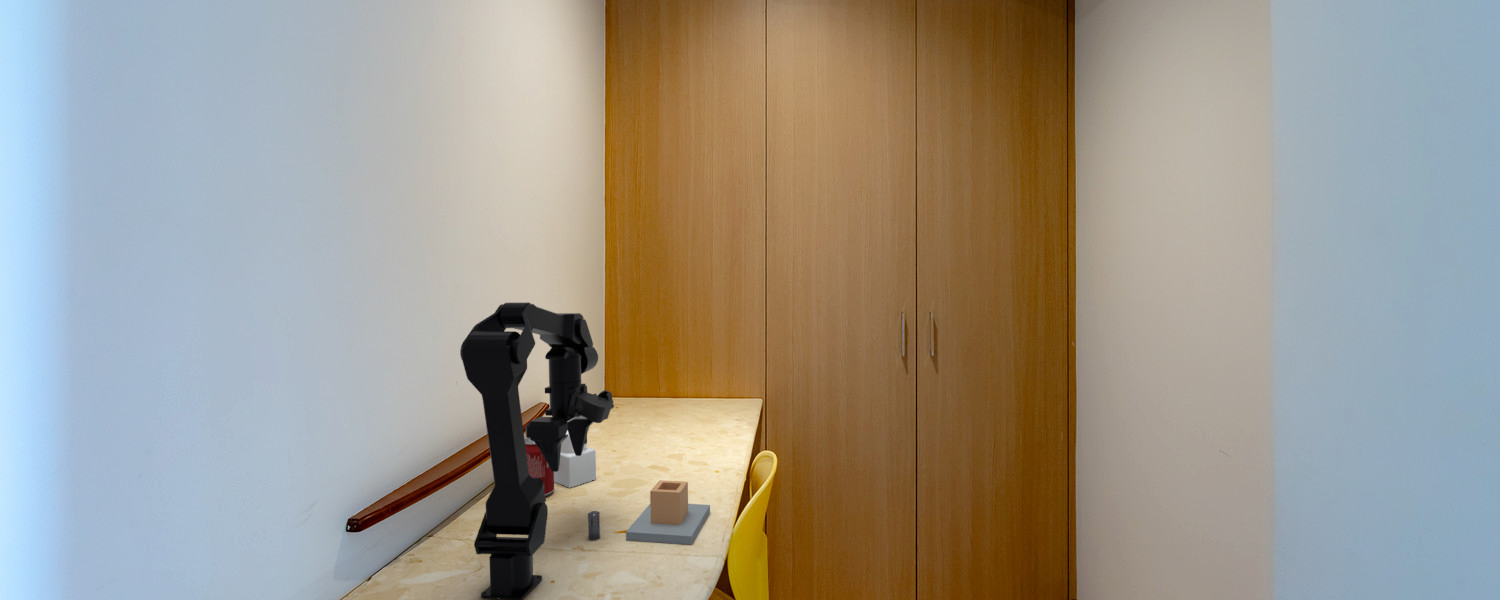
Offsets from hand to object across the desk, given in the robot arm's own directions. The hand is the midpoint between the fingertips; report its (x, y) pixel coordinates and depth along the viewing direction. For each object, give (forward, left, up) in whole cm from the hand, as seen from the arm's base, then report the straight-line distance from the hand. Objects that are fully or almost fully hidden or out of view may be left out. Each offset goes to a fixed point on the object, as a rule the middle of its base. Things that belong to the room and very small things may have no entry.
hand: (567, 463), depth 111 cm
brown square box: (+3, -19, -10) cm, 22 cm away
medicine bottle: (+23, +10, -12) cm, 28 cm away
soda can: (+14, +14, -12) cm, 23 cm away
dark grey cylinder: (-4, -7, -12) cm, 14 cm away
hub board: (+3, -19, -12) cm, 23 cm away
